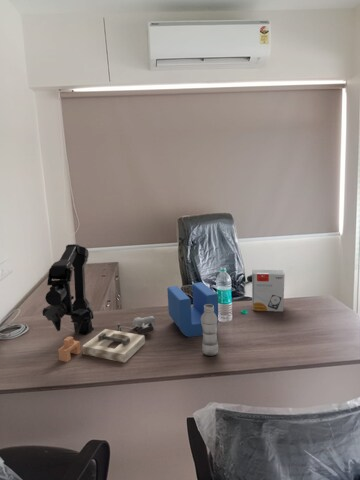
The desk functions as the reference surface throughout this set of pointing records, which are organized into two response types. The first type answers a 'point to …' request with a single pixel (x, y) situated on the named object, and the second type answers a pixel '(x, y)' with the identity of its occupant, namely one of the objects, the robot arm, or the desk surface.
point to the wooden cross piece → (69, 349)
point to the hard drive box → (267, 290)
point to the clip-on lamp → (142, 325)
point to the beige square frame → (121, 352)
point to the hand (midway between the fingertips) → (67, 332)
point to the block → (182, 310)
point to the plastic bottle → (209, 331)
